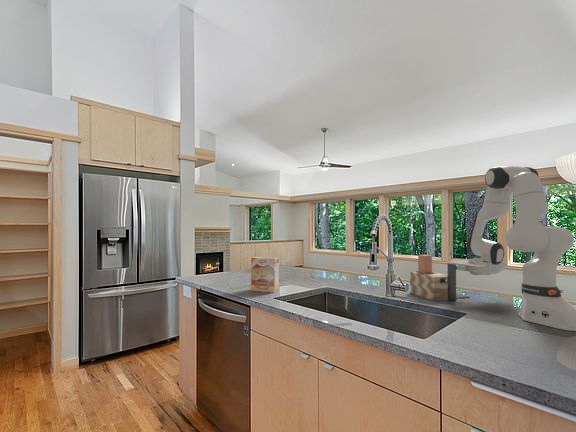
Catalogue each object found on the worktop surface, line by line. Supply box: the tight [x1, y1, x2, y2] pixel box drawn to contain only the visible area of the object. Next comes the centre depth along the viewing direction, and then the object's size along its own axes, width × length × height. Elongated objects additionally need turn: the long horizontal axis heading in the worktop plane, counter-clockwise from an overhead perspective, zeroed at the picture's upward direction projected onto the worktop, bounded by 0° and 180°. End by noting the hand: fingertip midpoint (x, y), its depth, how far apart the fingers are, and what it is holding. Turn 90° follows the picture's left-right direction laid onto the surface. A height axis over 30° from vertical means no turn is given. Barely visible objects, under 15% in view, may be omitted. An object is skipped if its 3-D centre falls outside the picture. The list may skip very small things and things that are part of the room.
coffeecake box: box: [250, 256, 280, 294], centre depth 183 cm, size 15×7×20 cm, turn 71°
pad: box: [456, 292, 470, 300], centre depth 171 cm, size 9×9×1 cm
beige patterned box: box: [409, 270, 448, 301], centre depth 172 cm, size 18×12×13 cm, turn 18°
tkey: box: [442, 262, 457, 303], centre depth 160 cm, size 8×2×19 cm, turn 18°
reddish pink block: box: [417, 254, 433, 273], centre depth 176 cm, size 5×5×10 cm
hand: (455, 267), depth 159 cm, fingers closed
